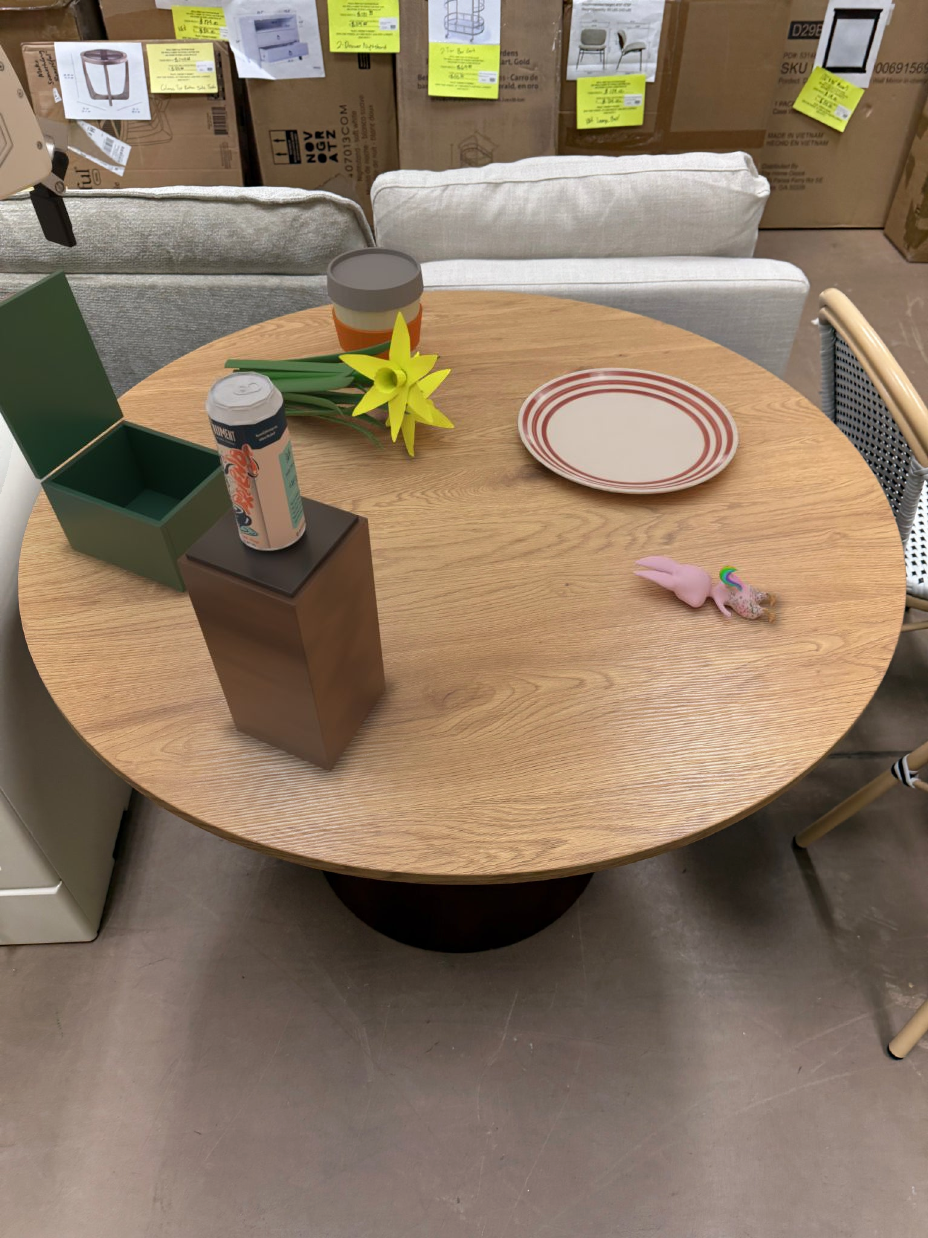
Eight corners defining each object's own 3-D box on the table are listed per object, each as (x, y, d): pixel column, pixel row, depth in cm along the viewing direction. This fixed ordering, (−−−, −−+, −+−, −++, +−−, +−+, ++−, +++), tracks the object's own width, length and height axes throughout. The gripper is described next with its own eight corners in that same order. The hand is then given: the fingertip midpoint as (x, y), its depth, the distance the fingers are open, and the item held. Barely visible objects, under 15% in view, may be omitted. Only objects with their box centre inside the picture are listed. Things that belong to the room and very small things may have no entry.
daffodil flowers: (293, 369, 117) (509, 370, 100) (262, 463, 114) (479, 481, 98) (211, 298, 102) (447, 285, 85) (173, 404, 100) (409, 412, 83)
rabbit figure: (765, 602, 88) (633, 558, 89) (792, 565, 83) (651, 519, 84) (763, 645, 84) (624, 598, 85) (790, 608, 79) (643, 559, 80)
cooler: (253, 525, 93) (237, 456, 86) (185, 596, 86) (160, 527, 79) (147, 487, 98) (123, 419, 90) (73, 552, 90) (39, 482, 83)
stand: (331, 775, 72) (293, 600, 55) (237, 733, 74) (174, 555, 58) (386, 692, 78) (367, 512, 61) (298, 657, 80) (256, 475, 64)
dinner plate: (473, 430, 106) (473, 408, 103) (623, 363, 117) (626, 342, 115) (622, 545, 92) (627, 523, 89) (777, 456, 103) (785, 434, 100)
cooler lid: (63, 270, 78) (26, 263, 80) (-40, 329, 71) (-79, 320, 72) (124, 416, 90) (90, 408, 92) (41, 480, 82) (6, 469, 84)
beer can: (233, 522, 60) (193, 377, 51) (295, 504, 61) (268, 361, 52) (250, 563, 57) (211, 418, 48) (315, 544, 58) (289, 399, 50)
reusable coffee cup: (324, 362, 117) (310, 257, 106) (403, 341, 121) (397, 238, 110) (358, 406, 109) (347, 299, 98) (441, 382, 113) (440, 277, 102)
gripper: (-176, 55, 48) (-43, 323, 61) (53, -7, 58) (126, 236, 71) (-250, 36, 51) (-107, 299, 64) (-18, -19, 61) (65, 217, 73)
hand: (16, 265), depth 67 cm, fingers open, 9 cm apart
